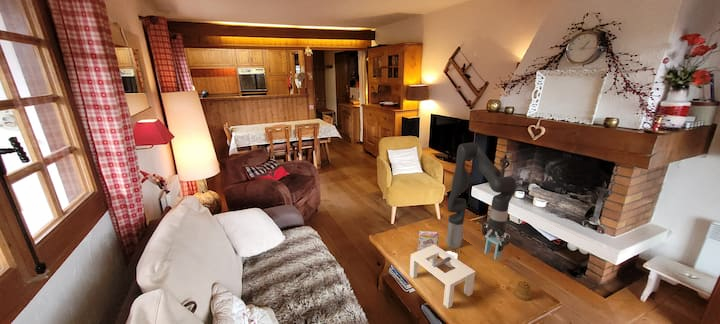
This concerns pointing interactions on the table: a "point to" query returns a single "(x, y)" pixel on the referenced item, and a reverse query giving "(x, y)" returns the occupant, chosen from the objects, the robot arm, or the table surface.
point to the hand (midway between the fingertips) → (493, 247)
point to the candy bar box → (427, 239)
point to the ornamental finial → (523, 290)
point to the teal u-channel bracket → (488, 246)
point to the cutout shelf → (447, 278)
